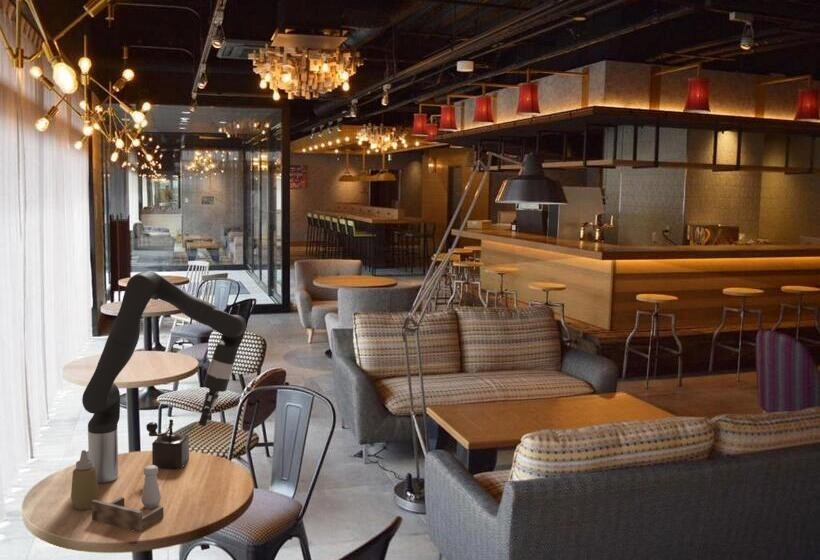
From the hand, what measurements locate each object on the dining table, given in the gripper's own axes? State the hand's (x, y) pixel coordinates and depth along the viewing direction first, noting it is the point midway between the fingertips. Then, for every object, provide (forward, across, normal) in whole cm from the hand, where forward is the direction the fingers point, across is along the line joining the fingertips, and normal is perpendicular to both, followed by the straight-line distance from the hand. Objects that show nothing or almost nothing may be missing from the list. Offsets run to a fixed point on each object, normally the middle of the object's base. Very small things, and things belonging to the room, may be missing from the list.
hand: (203, 422), depth 241 cm
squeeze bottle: (+34, +5, -27) cm, 43 cm away
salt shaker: (+28, +6, -7) cm, 30 cm away
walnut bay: (+30, +15, -12) cm, 36 cm away
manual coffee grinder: (+25, -26, -9) cm, 38 cm away
